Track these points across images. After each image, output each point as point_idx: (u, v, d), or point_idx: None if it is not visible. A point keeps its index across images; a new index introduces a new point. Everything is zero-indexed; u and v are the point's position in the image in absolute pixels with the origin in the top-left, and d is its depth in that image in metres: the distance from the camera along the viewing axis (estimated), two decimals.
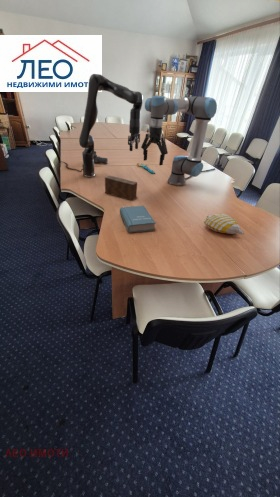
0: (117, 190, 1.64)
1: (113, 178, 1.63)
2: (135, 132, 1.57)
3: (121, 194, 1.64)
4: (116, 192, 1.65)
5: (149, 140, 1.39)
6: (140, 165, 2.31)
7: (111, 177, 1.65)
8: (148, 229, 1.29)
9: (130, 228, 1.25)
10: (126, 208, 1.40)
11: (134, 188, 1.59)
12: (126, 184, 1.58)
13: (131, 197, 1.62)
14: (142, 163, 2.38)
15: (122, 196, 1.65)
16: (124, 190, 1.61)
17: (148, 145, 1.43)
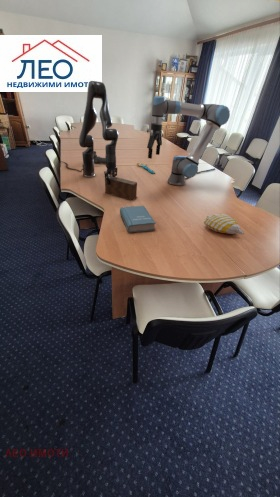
0: (117, 190, 1.64)
1: (113, 178, 1.63)
2: (111, 167, 1.57)
3: (121, 194, 1.64)
4: (116, 192, 1.65)
5: (156, 137, 1.52)
6: (140, 165, 2.31)
7: (111, 177, 1.65)
8: (148, 229, 1.29)
9: (130, 228, 1.25)
10: (126, 208, 1.40)
11: (134, 188, 1.59)
12: (126, 184, 1.58)
13: (131, 197, 1.62)
14: (142, 163, 2.38)
15: (122, 196, 1.65)
16: (124, 190, 1.61)
17: None
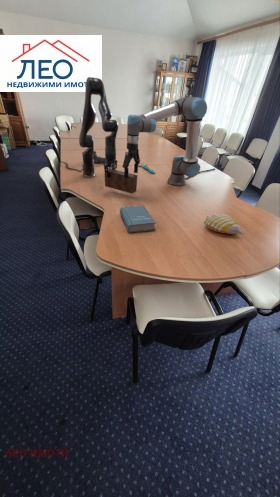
0: (116, 183, 1.61)
1: (113, 171, 1.60)
2: (111, 159, 1.54)
3: (121, 187, 1.61)
4: (116, 185, 1.63)
5: (132, 156, 1.45)
6: (140, 165, 2.31)
7: (111, 170, 1.62)
8: (148, 229, 1.29)
9: (130, 228, 1.25)
10: (126, 208, 1.40)
11: (134, 181, 1.56)
12: None
13: (131, 190, 1.59)
14: (142, 163, 2.38)
15: (122, 189, 1.62)
16: (124, 183, 1.58)
17: None
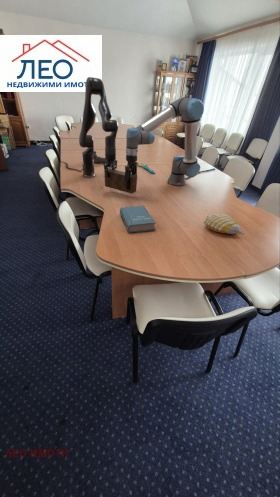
0: (116, 184, 1.61)
1: (113, 171, 1.60)
2: (111, 159, 1.54)
3: (120, 187, 1.61)
4: (116, 185, 1.62)
5: (131, 169, 1.50)
6: (140, 165, 2.31)
7: (111, 170, 1.62)
8: (148, 229, 1.29)
9: (130, 228, 1.25)
10: (126, 208, 1.40)
11: (134, 181, 1.56)
12: None
13: (131, 190, 1.59)
14: (142, 163, 2.38)
15: (122, 189, 1.62)
16: (124, 184, 1.58)
17: None
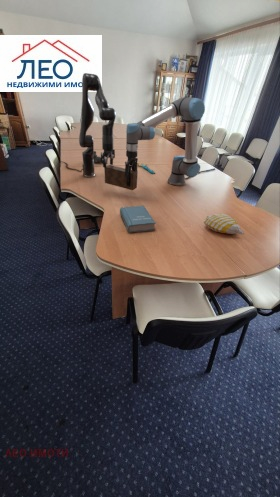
0: (117, 180, 1.60)
1: (113, 167, 1.59)
2: (108, 149, 1.50)
3: (121, 184, 1.60)
4: (116, 182, 1.61)
5: (132, 164, 1.49)
6: (140, 165, 2.31)
7: (111, 166, 1.60)
8: (148, 229, 1.29)
9: (130, 228, 1.25)
10: (126, 208, 1.40)
11: (134, 177, 1.54)
12: None
13: (131, 187, 1.57)
14: (142, 163, 2.38)
15: (122, 186, 1.60)
16: (124, 180, 1.57)
17: None
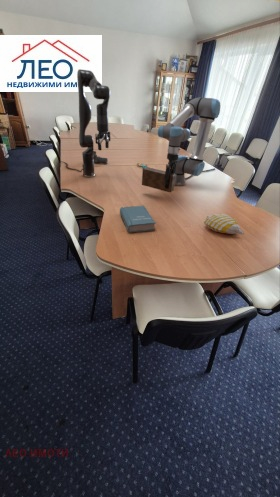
0: (154, 182, 1.61)
1: (151, 169, 1.60)
2: (103, 130, 1.45)
3: (158, 186, 1.61)
4: (153, 184, 1.62)
5: (172, 167, 1.49)
6: (140, 165, 2.31)
7: (149, 168, 1.61)
8: (148, 229, 1.29)
9: (130, 228, 1.25)
10: (126, 208, 1.40)
11: (173, 180, 1.55)
12: None
13: (169, 189, 1.58)
14: (142, 163, 2.38)
15: (160, 188, 1.61)
16: (163, 182, 1.57)
17: None
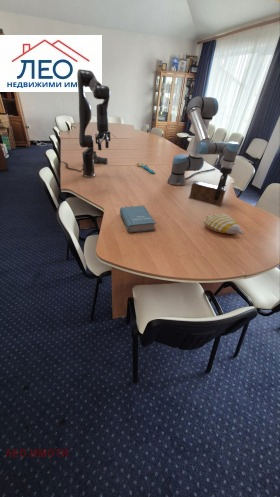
0: (203, 196, 1.66)
1: (201, 184, 1.65)
2: (103, 130, 1.45)
3: (207, 199, 1.66)
4: (202, 197, 1.67)
5: (225, 180, 1.53)
6: (140, 165, 2.31)
7: (198, 183, 1.66)
8: (148, 229, 1.29)
9: (130, 228, 1.25)
10: (126, 208, 1.40)
11: (224, 194, 1.60)
12: None
13: (219, 203, 1.63)
14: (142, 163, 2.38)
15: (209, 201, 1.66)
16: (213, 196, 1.63)
17: None
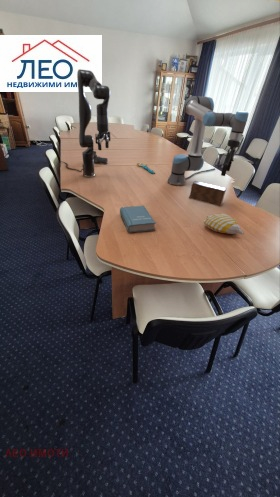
0: (203, 196, 1.66)
1: (201, 184, 1.65)
2: (103, 130, 1.45)
3: (207, 199, 1.66)
4: (202, 197, 1.67)
5: (232, 154, 1.43)
6: (140, 165, 2.31)
7: (198, 183, 1.66)
8: (148, 229, 1.29)
9: (130, 228, 1.25)
10: (126, 208, 1.40)
11: (224, 194, 1.60)
12: (216, 190, 1.59)
13: (219, 203, 1.63)
14: (142, 163, 2.38)
15: (209, 201, 1.66)
16: (213, 196, 1.63)
17: None
